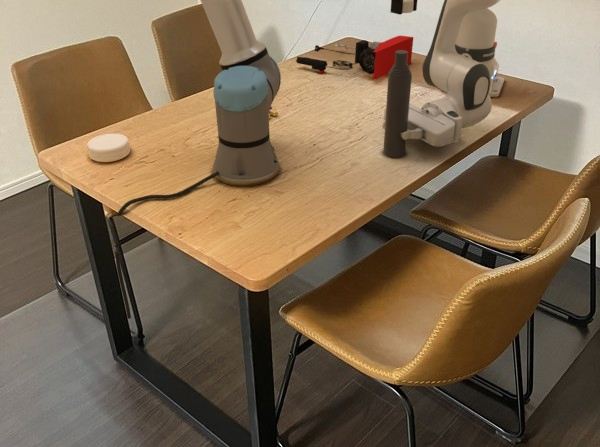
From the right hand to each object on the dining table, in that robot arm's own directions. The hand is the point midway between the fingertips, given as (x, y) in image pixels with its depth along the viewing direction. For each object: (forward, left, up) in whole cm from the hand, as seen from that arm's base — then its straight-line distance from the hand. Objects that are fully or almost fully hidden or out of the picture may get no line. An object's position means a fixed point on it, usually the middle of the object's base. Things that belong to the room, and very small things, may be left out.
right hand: (393, 130), depth 149 cm
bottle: (-1, 0, -6) cm, 6 cm away
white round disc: (+37, -59, -6) cm, 70 cm away
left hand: (-1, 0, +28) cm, 28 cm away
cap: (-1, 0, +30) cm, 30 cm away
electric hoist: (-55, -41, -6) cm, 68 cm away
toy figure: (-4, -44, -6) cm, 45 cm away
